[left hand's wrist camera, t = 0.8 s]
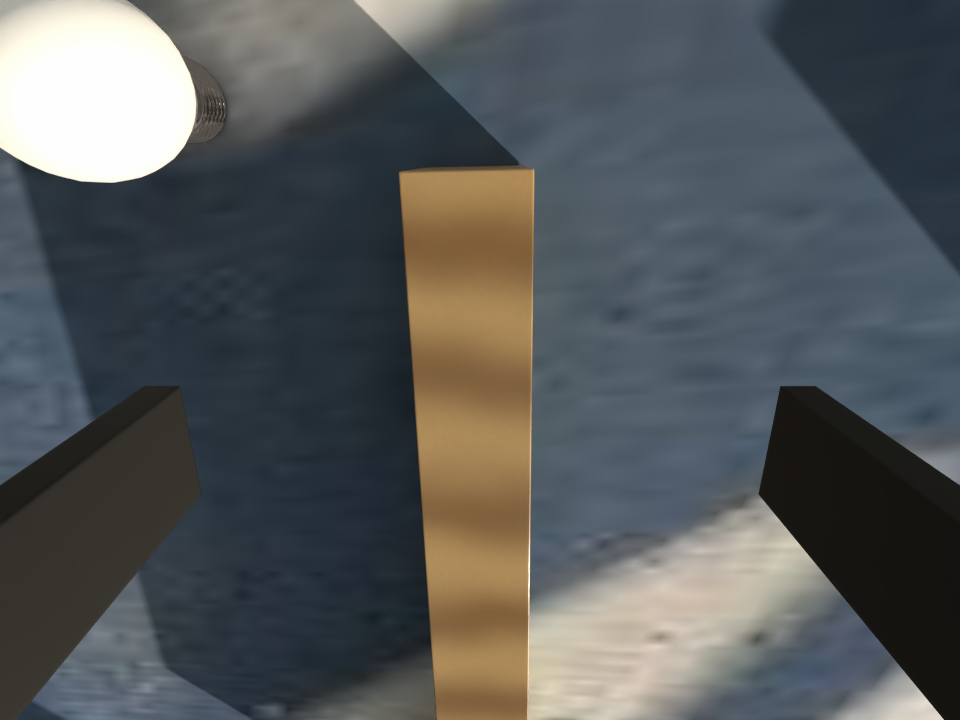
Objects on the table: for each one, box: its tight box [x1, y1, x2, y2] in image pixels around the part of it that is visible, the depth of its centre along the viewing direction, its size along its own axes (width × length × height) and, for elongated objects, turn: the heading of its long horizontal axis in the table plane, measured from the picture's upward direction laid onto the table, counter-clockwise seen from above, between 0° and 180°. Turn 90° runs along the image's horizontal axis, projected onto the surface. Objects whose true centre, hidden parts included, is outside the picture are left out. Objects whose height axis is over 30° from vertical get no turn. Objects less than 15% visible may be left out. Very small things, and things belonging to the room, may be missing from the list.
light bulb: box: [0, 0, 226, 183], centre depth 21 cm, size 7×7×11 cm
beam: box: [399, 165, 534, 720], centre depth 33 cm, size 53×5×8 cm, turn 1°
